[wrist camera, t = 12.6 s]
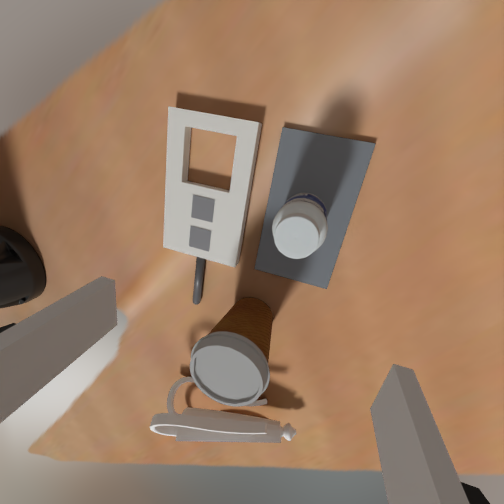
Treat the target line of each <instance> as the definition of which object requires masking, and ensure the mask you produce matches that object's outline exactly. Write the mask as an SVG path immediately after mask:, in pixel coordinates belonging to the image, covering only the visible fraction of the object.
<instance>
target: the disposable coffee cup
mask: <svg viewBox="0 0 504 504" xmlns="http://www.w3.org/2000/svg"><path fill="white" fill-rule="evenodd" d="M272 321H273V315H272V312H271V310H270V308H269V307H268V306H267V305H266V304H265V303H264V302H263V301H261V300H259V299H256V298H251V297H249V298H243V299H241V300H239V301H238V302H237V303H236V304H235V305H234V306H233V307H232V308H231V309H230V310H229V312H228V313H227V314H226V315H225V316H224V317H223V318H222V319H221V321H220V322H219V323H218V324H217V325H216V326H215V327H214V328H213V329H212V331H211V332H210V333H209V334H208V335H206V336H205V337H203V338H201V339H200V340H199V341H198V342H197V343H196V344H195V346H194V347H193V350H192V353H191V362H190V372H191V376H192V378H193V380H194V382H195V384H196V385H197V387H198V388H199V389H200V390H201V391H202V392H203V393H204V394H206V395H207V396H208V397H210V398H211V399H213V400H215V401H217V402H219V403H221V404H225V405H229V406H245V405H249V404H251V403H253V402H254V401H256V400H257V399H258V398H259V396H260V395H261V394H262V393H263V392H264V391H265V390H266V388H267V386H268V384H269V379H270V372H269V366H268V359H269V350H270V339H271V330H272Z"/></svg>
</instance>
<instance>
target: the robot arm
mask: <svg viewBox="0 0 504 504" xmlns="http://www.w3.org/2000/svg"><path fill="white" fill-rule="evenodd" d="M45 282H46V279H45V272H44V269H43V266H42V263H41V261H40V259H39V257H38V255H37V254H36V252H35V251H34V249H33V248H32V247H31V245H30V244H29V243H28V242H27V241H26V240H25V239H24V238H23V237H22V236H20V235H19V234H18V233H16V232H15V231H13V230H11V229H9V228H7V227H4V226H0V308H5V307H10V306H14V305H19V304H23V303H26V302H28V301H30V300H32V299H34V298H36V297H38V296H40V295H41V294H42V292H43V291H44V288H45ZM116 325H117V310H116V292H115V280H112V279H109V278H106V277H102V276H101V277H99V278H98V279H96V280H94V281H92V282H90V283H89V284H87V285H85V286H83V287H82V288H80V289H78V290H76V291H74V292H73V293H71V294H69V295H67V296H66V297H64V298H62V299H60V300H58V301H57V302H55V303H53V304H51V305H50V306H48V307H46V308H44V309H42V310H41V311H39V312H37V313H35V314H33V315H32V316H30V317H28V318H26V319H25V320H23V321H21V322H19V323H17V324H15V323H12V324H9V325H6V326H3V327H1V328H0V423H1V422H2V421H4V420H5V419H6V418H7V417H8V416H9V415H10V414H12V413H13V412H14V411H15V410H17V409H18V408H19V407H20V406H21V405H23V404H24V403H25V402H26V401H27V400H28V399H30V398H31V397H32V396H33V395H34V394H36V393H37V392H38V391H39V390H40V389H42V388H43V387H44V386H45V385H46V384H47V383H49V382H50V381H51V380H52V379H53V378H55V377H56V376H57V375H58V374H59V373H61V372H62V371H63V370H64V369H65V368H66V367H68V366H69V365H70V364H71V363H72V362H74V361H75V360H76V359H77V358H78V357H80V356H81V355H82V354H83V353H84V352H85V351H87V350H88V349H89V348H90V347H91V346H92V345H94V344H95V343H96V342H97V341H98V340H100V339H101V338H102V337H103V336H104V335H106V334H107V333H108V332H109V331H110V330H112V329H113V328H114V327H115V326H116ZM370 410H371V415H372V420H373V425H374V431H375V436H376V441H377V447H378V452H379V457H380V462H381V468H382V473H383V478H384V483H385V488H386V494H387V499H388V504H490V503H489V502H488V500H487V499H486V498H485V496H484V495H483V494H482V492H481V491H480V489H479V488H476V487H473V486H470V485H468V484H465V483H462V482H460V480H459V477H458V475H457V473H456V470H455V468H454V465H453V463H452V461H451V458H450V456H449V454H448V451H447V449H446V446H445V444H444V442H443V439H442V437H441V435H440V432H439V430H438V427H437V425H436V423H435V420H434V418H433V416H432V413H431V411H430V408H429V406H428V404H427V401H426V399H425V397H424V394H423V392H422V389H421V387H420V385H419V382H418V380H417V378H416V375H415V373H414V371H413V370H412V369H409V368H406V367H402V366H399V365H396V364H393V365H392V367H391V369H390V371H389V373H388V375H387V377H386V379H385V381H384V383H383V385H382V387H381V389H380V391H379V393H378V395H377V397H376V399H375V401H374V402H373V404H372V406H371V408H370Z"/></svg>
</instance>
